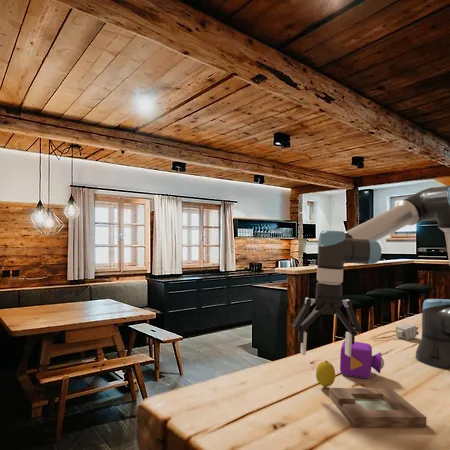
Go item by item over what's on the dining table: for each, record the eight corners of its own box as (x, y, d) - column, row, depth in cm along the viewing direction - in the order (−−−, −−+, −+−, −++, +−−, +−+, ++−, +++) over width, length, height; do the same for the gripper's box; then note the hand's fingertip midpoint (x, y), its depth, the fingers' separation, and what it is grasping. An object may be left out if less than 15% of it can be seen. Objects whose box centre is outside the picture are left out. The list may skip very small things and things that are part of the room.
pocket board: (390, 397, 105) (391, 388, 105) (426, 427, 89) (426, 417, 89) (329, 396, 103) (329, 387, 103) (353, 427, 87) (354, 417, 88)
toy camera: (386, 383, 115) (387, 351, 115) (340, 377, 118) (342, 346, 118) (379, 370, 126) (380, 341, 126) (337, 365, 128) (338, 336, 129)
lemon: (324, 393, 106) (325, 365, 106) (311, 385, 111) (312, 358, 111) (338, 390, 108) (340, 362, 108) (325, 382, 113) (326, 356, 113)
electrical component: (379, 351, 158) (378, 339, 157) (369, 346, 163) (367, 335, 163) (419, 336, 167) (418, 325, 167) (407, 332, 173) (406, 322, 172)
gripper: (364, 282, 115) (360, 351, 114) (285, 278, 113) (281, 348, 112) (376, 286, 107) (372, 360, 107) (291, 282, 105) (287, 357, 105)
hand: (325, 354), depth 109 cm, fingers open, 13 cm apart
